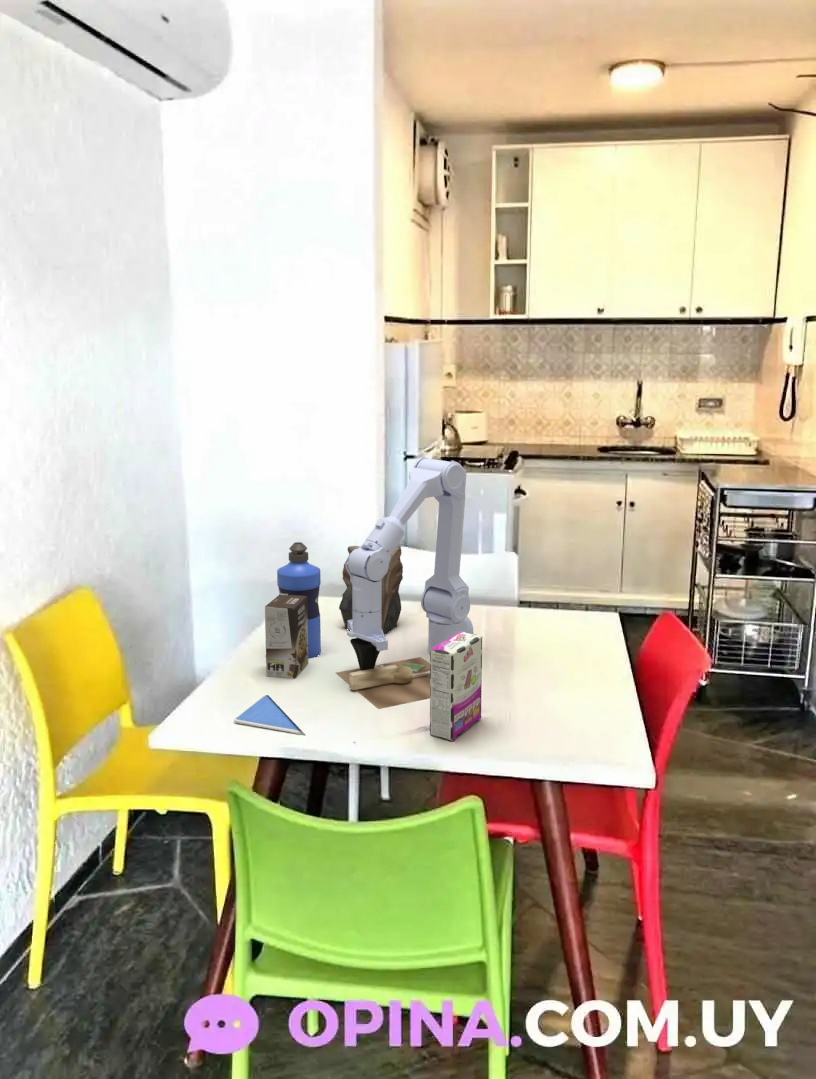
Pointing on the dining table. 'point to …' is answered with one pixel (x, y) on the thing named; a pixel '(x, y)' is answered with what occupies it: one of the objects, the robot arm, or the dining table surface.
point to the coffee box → (286, 636)
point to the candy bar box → (455, 685)
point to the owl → (388, 596)
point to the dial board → (397, 685)
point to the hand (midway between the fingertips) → (367, 673)
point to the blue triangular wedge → (268, 716)
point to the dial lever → (382, 676)
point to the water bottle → (303, 591)
